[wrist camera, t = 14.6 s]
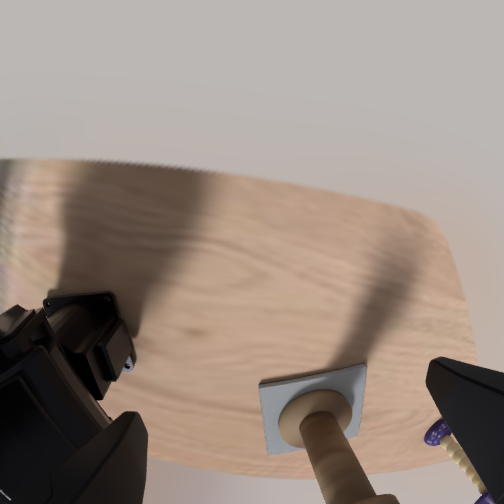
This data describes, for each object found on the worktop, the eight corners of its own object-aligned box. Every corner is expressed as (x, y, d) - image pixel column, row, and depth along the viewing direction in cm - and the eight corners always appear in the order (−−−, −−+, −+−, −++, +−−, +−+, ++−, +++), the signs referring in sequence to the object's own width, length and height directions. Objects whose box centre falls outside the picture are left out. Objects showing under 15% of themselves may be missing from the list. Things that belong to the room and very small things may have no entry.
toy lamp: (454, 409, 26) (527, 490, 10) (452, 428, 27) (516, 504, 11) (423, 430, 26) (491, 522, 10) (423, 448, 27) (482, 532, 11)
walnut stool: (267, 438, 23) (294, 550, 11) (294, 384, 22) (345, 505, 10) (329, 442, 24) (373, 537, 12) (360, 392, 23) (427, 488, 11)
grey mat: (267, 452, 24) (268, 455, 24) (258, 384, 22) (259, 388, 22) (356, 432, 25) (357, 435, 24) (364, 363, 23) (366, 366, 22)
